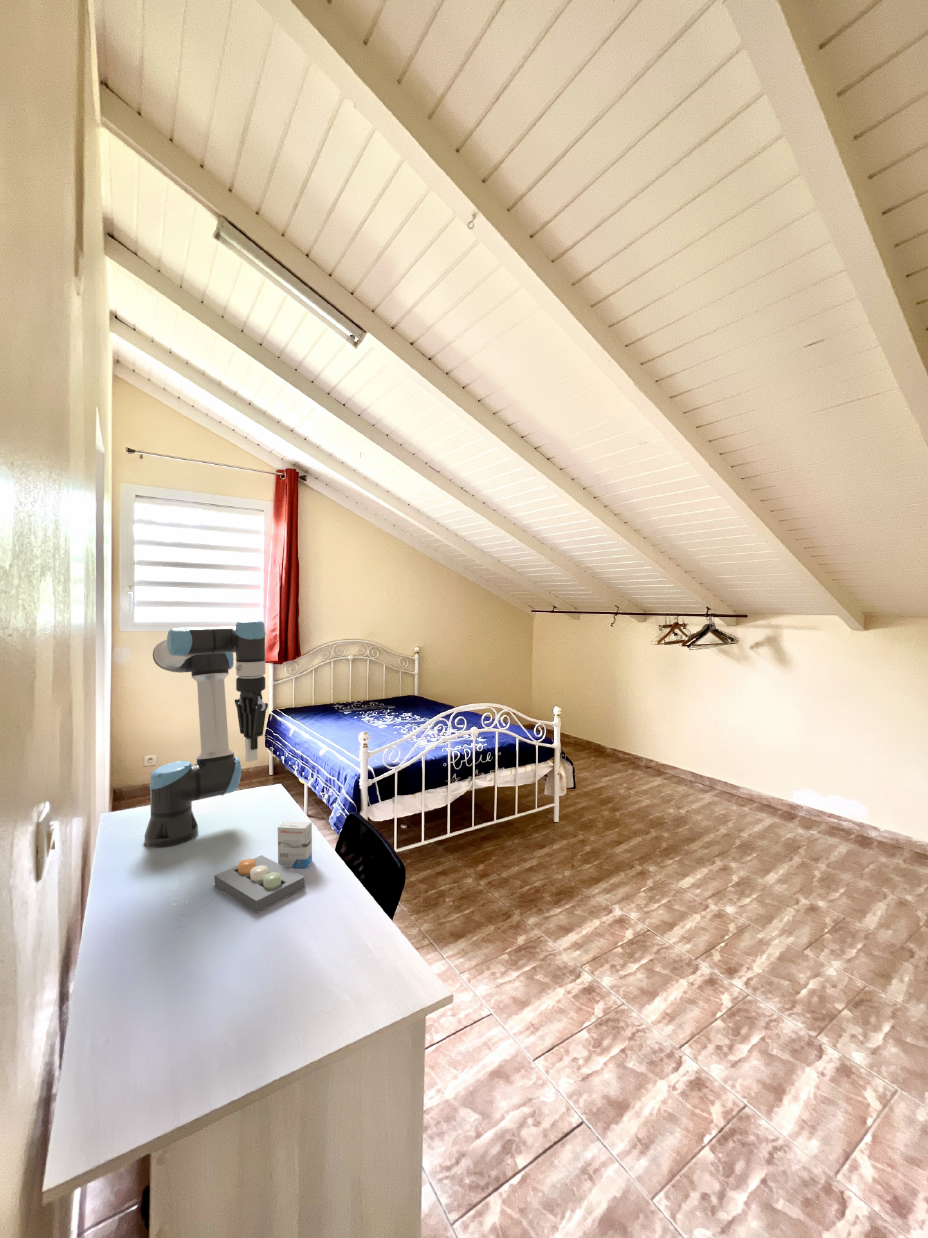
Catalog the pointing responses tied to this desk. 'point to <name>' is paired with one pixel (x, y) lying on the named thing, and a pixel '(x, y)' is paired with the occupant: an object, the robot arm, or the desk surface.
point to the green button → (271, 880)
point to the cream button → (258, 873)
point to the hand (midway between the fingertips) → (251, 760)
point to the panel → (259, 885)
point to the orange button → (245, 866)
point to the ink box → (295, 844)
